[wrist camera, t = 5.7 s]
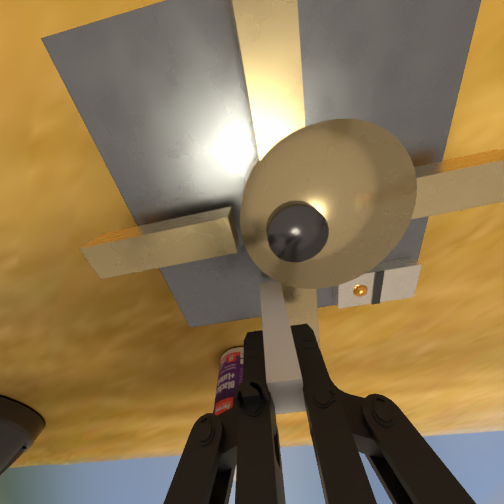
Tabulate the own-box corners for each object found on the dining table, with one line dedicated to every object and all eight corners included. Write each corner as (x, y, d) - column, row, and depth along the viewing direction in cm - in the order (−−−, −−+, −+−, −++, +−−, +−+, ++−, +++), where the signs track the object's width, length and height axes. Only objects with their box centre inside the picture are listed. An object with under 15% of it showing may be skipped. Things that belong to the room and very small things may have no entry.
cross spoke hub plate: (194, 311, 20) (185, 340, 17) (74, 55, 11) (8, 21, 8) (394, 279, 19) (422, 304, 16) (457, -56, 9) (557, -152, 6)
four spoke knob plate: (182, 343, 18) (164, 397, 14) (-17, 6, 8) (-270, -128, 4) (427, 305, 17) (484, 355, 13) (581, -200, 6) (1175, -818, 2)
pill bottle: (229, 340, 23) (218, 458, 14) (271, 352, 24) (283, 467, 15) (214, 366, 25) (196, 480, 16) (252, 375, 26) (254, 487, 18)
